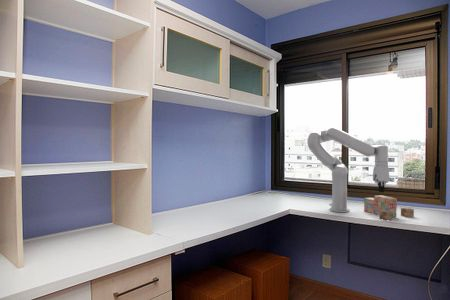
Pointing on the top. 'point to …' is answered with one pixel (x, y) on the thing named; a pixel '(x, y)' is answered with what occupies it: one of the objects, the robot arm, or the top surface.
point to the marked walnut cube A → (386, 215)
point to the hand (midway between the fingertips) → (381, 192)
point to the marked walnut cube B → (407, 212)
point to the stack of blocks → (380, 205)
